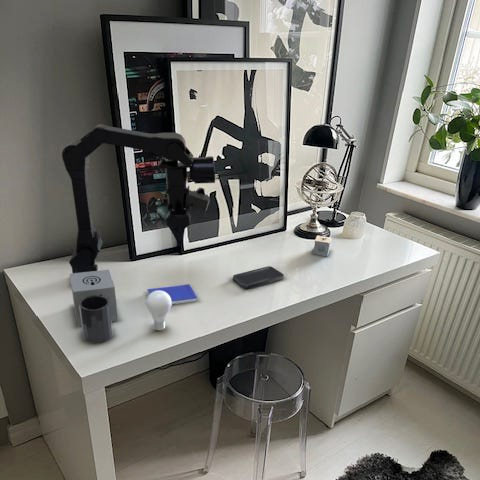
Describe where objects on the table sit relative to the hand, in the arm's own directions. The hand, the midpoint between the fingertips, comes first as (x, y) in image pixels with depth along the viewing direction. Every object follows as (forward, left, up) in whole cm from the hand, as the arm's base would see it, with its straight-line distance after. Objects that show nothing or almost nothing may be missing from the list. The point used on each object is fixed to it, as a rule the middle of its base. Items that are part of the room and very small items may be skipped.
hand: (180, 237), depth 143 cm
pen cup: (-22, -27, -15) cm, 38 cm away
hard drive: (-3, -9, -15) cm, 17 cm away
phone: (+24, +1, -15) cm, 28 cm away
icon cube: (-24, -17, -15) cm, 32 cm away
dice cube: (+50, +20, -15) cm, 56 cm away
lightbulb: (-7, -25, -15) cm, 30 cm away
